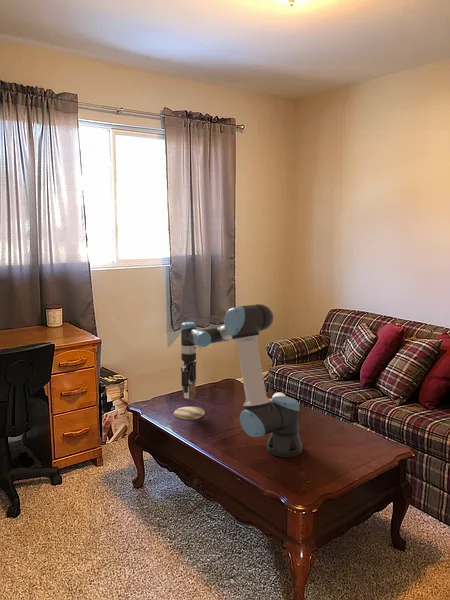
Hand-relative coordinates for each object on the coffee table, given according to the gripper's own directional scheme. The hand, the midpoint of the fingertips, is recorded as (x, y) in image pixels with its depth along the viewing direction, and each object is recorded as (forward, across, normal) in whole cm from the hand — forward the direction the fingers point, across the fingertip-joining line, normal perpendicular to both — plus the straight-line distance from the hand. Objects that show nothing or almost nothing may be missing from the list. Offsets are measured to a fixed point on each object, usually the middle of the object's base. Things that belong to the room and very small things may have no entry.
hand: (189, 396), depth 253 cm
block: (0, 0, 0) cm, 0 cm away
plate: (+9, 0, 0) cm, 9 cm away
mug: (+10, +22, -40) cm, 47 cm away
